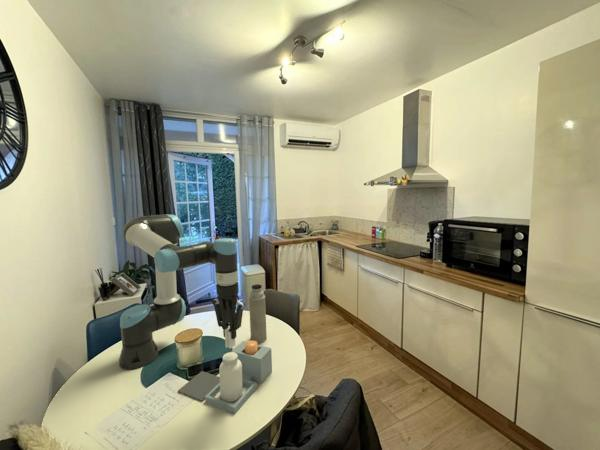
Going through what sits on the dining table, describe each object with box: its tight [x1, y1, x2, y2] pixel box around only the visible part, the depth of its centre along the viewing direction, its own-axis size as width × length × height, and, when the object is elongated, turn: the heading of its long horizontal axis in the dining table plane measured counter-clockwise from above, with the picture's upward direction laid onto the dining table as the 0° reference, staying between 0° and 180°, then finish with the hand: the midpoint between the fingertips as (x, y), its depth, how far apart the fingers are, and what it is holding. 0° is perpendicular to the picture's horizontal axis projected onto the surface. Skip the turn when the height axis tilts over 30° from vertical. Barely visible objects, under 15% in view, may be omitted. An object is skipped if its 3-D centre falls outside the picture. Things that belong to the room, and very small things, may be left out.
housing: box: [204, 341, 273, 414], centre depth 100 cm, size 14×24×10 cm, turn 156°
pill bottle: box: [218, 351, 244, 403], centre depth 95 cm, size 8×8×15 cm
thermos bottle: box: [248, 284, 268, 344], centre depth 132 cm, size 8×8×28 cm
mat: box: [177, 370, 220, 402], centre depth 101 cm, size 12×12×1 cm
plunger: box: [245, 340, 258, 355], centre depth 107 cm, size 5×5×7 cm
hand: (230, 345), depth 94 cm, fingers closed
